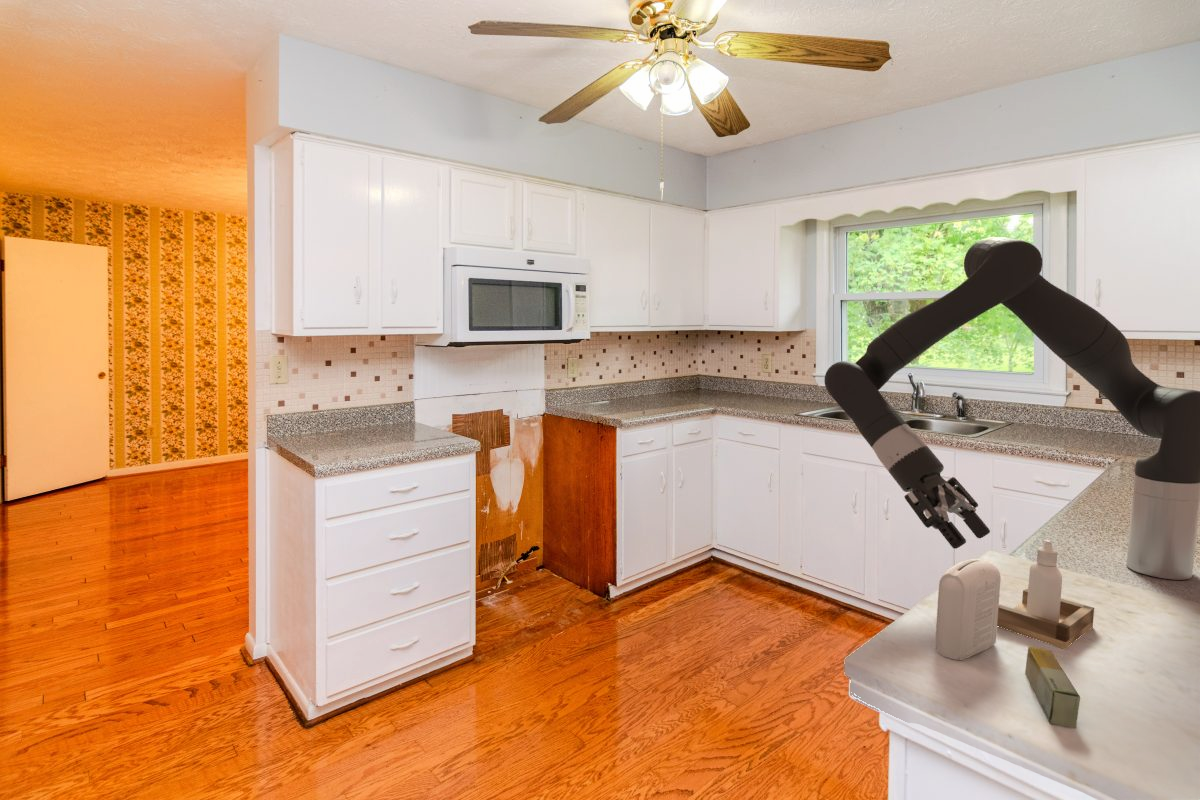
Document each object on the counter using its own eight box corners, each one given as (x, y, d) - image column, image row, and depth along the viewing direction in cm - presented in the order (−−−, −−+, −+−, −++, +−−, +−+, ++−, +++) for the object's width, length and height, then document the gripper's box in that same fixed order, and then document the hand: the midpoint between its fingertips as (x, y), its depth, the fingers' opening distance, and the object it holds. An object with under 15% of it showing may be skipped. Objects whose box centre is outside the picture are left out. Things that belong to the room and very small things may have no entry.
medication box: (1078, 731, 74) (1082, 697, 73) (1049, 725, 75) (1053, 691, 74) (1048, 678, 85) (1051, 648, 84) (1023, 673, 86) (1026, 644, 85)
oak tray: (1024, 607, 106) (1026, 588, 105) (1092, 627, 98) (1094, 607, 98) (994, 626, 99) (996, 606, 99) (1065, 649, 92) (1066, 628, 91)
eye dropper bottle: (1062, 617, 99) (1068, 539, 98) (1057, 630, 95) (1063, 549, 94) (1028, 609, 102) (1033, 533, 101) (1021, 621, 98) (1027, 542, 97)
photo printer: (969, 633, 97) (975, 550, 95) (1000, 644, 93) (1006, 558, 92) (929, 652, 91) (934, 564, 90) (961, 665, 88) (966, 574, 86)
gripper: (901, 449, 107) (972, 537, 99) (943, 440, 115) (1011, 520, 108) (868, 475, 111) (933, 561, 104) (911, 465, 120) (974, 543, 112)
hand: (973, 540), depth 106 cm, fingers open, 8 cm apart
